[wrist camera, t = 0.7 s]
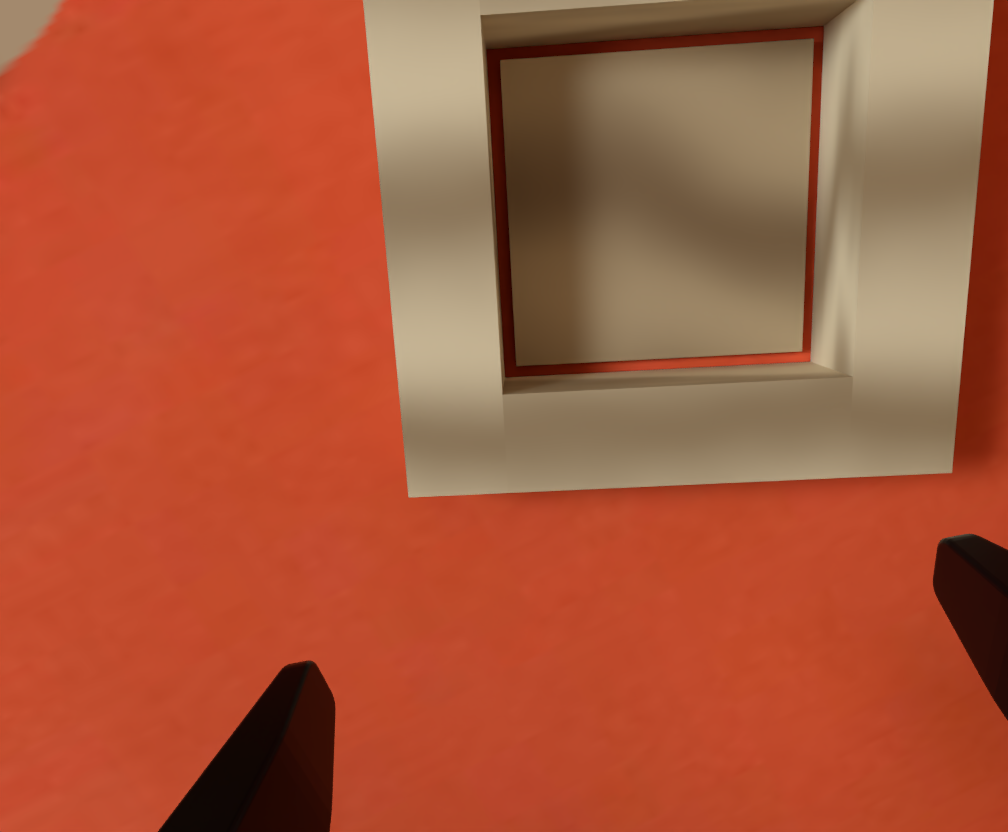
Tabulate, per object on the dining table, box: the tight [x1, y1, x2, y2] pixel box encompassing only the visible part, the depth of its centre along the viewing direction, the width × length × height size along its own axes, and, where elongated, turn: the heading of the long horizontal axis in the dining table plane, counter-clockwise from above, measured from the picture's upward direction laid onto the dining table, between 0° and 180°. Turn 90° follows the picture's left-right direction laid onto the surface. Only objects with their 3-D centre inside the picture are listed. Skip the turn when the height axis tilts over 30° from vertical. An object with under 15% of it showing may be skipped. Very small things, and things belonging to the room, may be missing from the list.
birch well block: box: [363, 0, 994, 497], centre depth 20 cm, size 16×16×3 cm
